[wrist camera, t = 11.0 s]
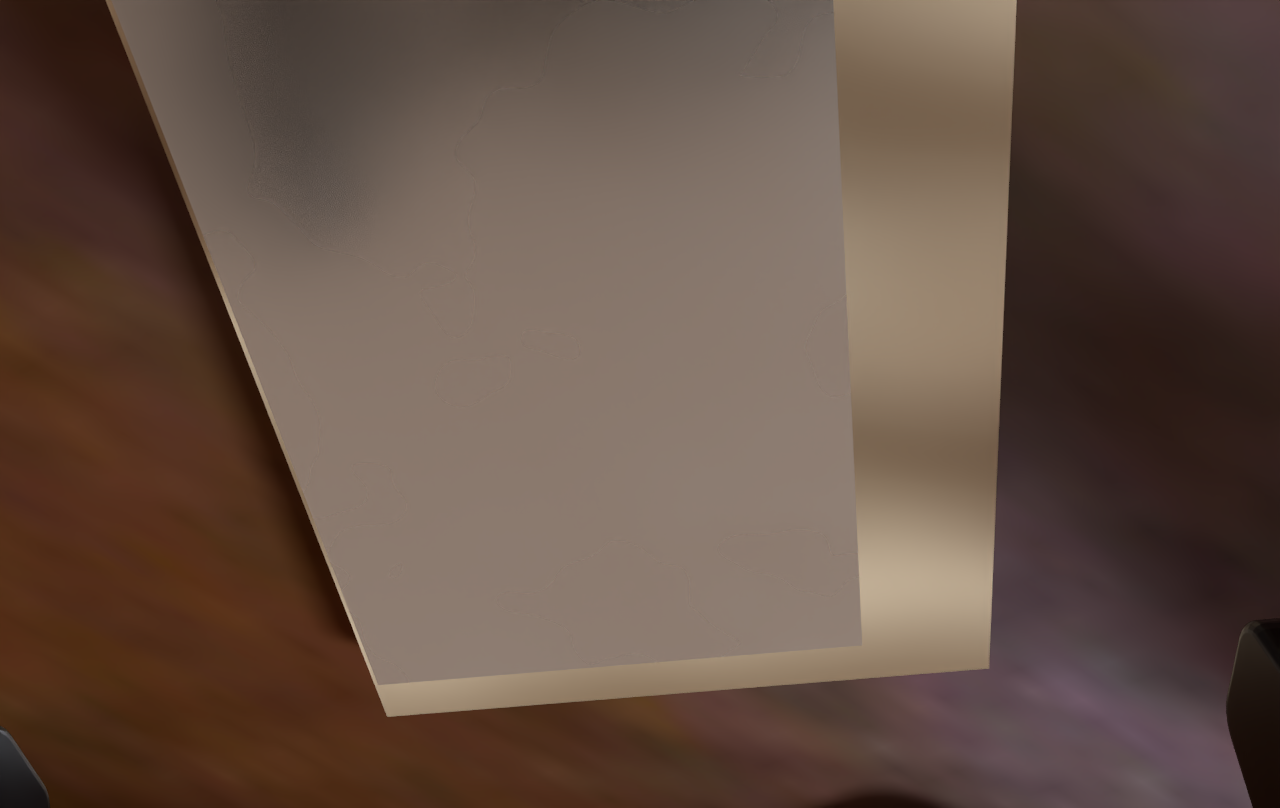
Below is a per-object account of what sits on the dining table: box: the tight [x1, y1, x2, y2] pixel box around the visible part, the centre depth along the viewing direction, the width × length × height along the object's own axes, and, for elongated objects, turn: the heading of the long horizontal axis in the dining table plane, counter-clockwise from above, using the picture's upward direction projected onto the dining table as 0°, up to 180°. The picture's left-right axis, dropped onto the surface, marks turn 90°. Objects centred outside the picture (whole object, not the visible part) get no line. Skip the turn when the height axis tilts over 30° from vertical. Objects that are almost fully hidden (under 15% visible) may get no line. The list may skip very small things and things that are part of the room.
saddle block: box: [111, 0, 862, 685], centre depth 15 cm, size 9×6×6 cm, turn 8°
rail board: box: [106, 0, 1017, 717], centre depth 17 cm, size 24×12×4 cm, turn 8°
